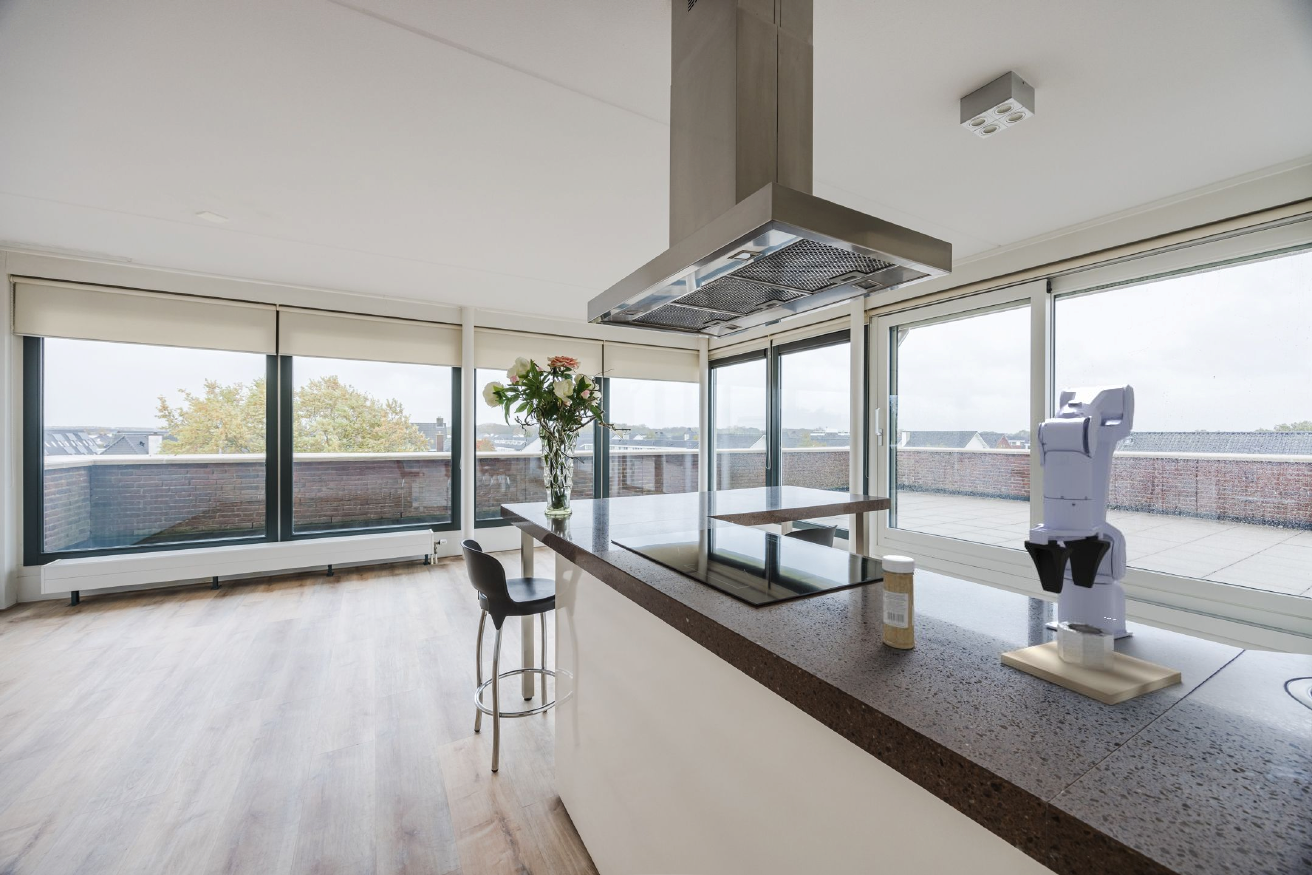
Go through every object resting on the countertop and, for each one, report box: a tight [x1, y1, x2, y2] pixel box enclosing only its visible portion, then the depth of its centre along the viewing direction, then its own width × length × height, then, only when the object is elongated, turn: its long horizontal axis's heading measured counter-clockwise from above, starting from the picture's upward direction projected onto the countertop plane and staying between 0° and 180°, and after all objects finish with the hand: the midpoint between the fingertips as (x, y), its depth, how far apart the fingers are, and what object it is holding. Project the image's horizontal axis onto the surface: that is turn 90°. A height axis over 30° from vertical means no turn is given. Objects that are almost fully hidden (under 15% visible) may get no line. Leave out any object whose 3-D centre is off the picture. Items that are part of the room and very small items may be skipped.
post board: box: [1000, 626, 1182, 706], centre depth 70 cm, size 16×13×6 cm
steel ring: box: [1056, 621, 1115, 671], centre depth 70 cm, size 6×6×4 cm
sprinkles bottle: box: [881, 554, 916, 650], centre depth 80 cm, size 5×5×13 cm
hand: (1067, 589), depth 77 cm, fingers open, 7 cm apart
